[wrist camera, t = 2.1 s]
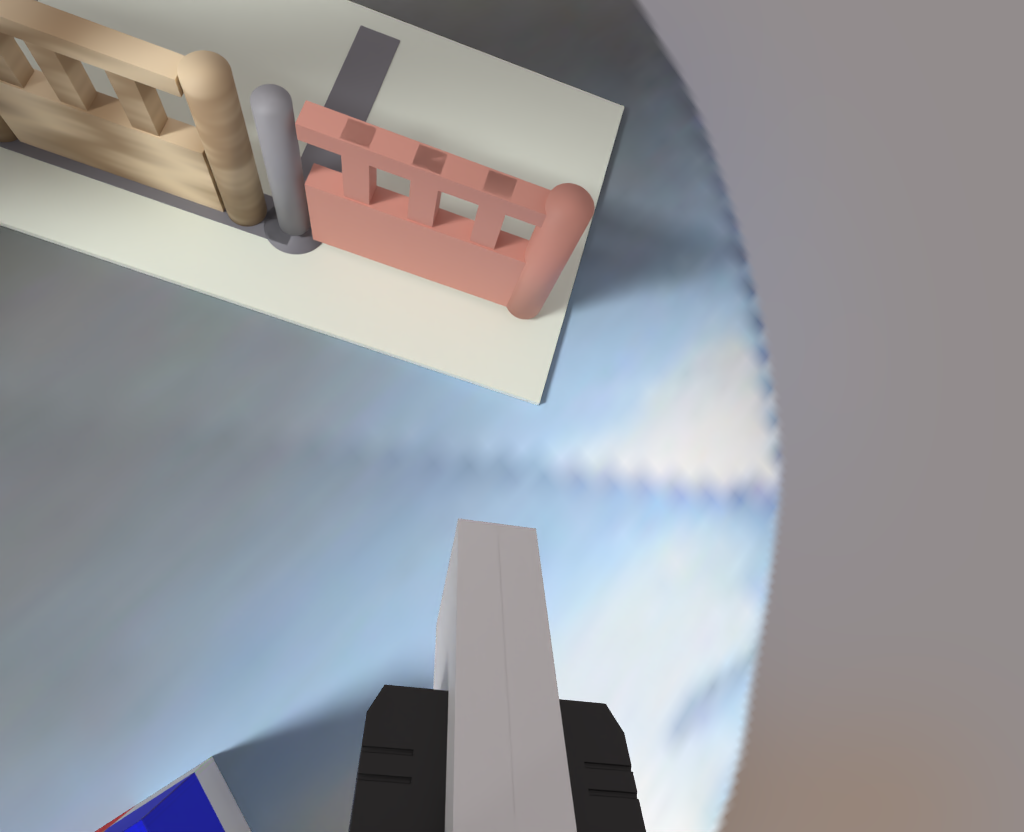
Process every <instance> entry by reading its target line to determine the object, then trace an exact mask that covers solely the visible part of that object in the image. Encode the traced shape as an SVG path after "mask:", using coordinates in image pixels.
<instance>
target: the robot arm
mask: <svg viewBox="0 0 1024 832" xmlns="http://www.w3.org/2000/svg"><path fill="white" fill-rule="evenodd" d="M349 832H646V830H645V825H644V821H643V816H642V812H641V807H640V803H639V799H637V789H636V785H635V780H634V776H633V772H631V762H630V757H629V753H628V748H627V744H626V739H625V735H624V732H623V731H622V729H621V727H620V726H619V724H618V723H617V721H616V719H615V718H614V716H613V715H612V713H611V712H610V710H609V708H608V707H607V705H606V704H603V703H592V702H582V701H571V700H561V699H559V696H558V689H557V681H556V674H555V667H554V659H553V652H552V645H551V637H550V630H549V622H548V615H547V608H546V600H545V593H544V586H543V578H542V571H541V564H540V556H539V549H538V542H537V534H536V529H535V528H527V527H519V526H512V525H504V524H496V523H488V522H481V521H473V520H465V519H458V523H457V527H456V532H455V537H454V542H453V547H452V552H451V556H450V561H449V566H448V571H447V576H446V581H445V585H444V590H443V595H442V600H441V605H440V610H439V614H438V619H437V625H436V645H435V665H434V685H433V689H425V688H414V687H404V686H393V685H384V686H383V688H382V690H381V691H380V693H379V694H378V696H377V697H376V699H375V700H374V702H373V703H372V705H371V706H370V708H369V710H368V711H367V715H366V721H365V727H364V734H363V740H362V746H361V753H360V759H359V765H358V772H357V778H356V785H355V792H354V799H353V806H352V813H351V819H350V826H349Z"/></svg>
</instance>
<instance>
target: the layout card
mask: <svg viewBox="0 0 1024 832" xmlns="http://www.w3.org/2000/svg"><path fill="white" fill-rule="evenodd" d="M38 2H40V3H43V4H46V5H49V6H51V7H54V8H57V9H59V10H62V11H65V12H68V13H70V14H73V15H76V16H78V17H81V18H84V19H87V20H89V21H92V22H95V23H98V24H100V25H103V26H106V27H108V28H111V29H114V30H117V31H119V32H122V33H125V34H127V35H130V36H133V37H136V38H138V39H141V40H144V41H146V42H149V43H152V44H155V45H157V46H160V47H163V48H165V49H168V50H171V51H174V52H176V53H179V54H182V55H185V56H186V55H187V54H189V53H191V52H194V51H200V50H206V51H212V52H215V53H217V54H219V55H221V56H222V57H224V58H225V59H226V60H227V61H228V63H229V64H230V67H231V70H232V74H233V78H234V82H235V85H236V89H237V93H238V97H239V101H240V105H241V109H242V113H243V116H244V120H245V124H246V128H247V132H248V136H249V140H250V144H251V147H252V151H253V155H254V159H255V163H256V167H257V171H258V175H259V179H260V182H261V186H262V190H263V194H264V198H265V202H266V206H267V214H266V216H265V218H264V219H263V221H262V222H260V223H259V224H257V225H254V226H249V227H246V226H240V225H238V224H236V223H234V222H233V221H232V220H231V219H230V218H229V216H228V214H227V211H226V208H225V210H224V212H221V211H218V210H216V209H213V208H210V207H207V206H204V205H201V204H198V203H195V202H193V201H190V200H187V199H184V198H181V197H178V196H175V195H172V194H170V193H167V192H164V191H161V190H158V189H155V188H152V187H149V186H147V185H144V184H141V183H138V182H135V181H132V180H129V179H126V178H124V177H121V176H118V175H115V174H112V173H109V172H106V171H103V170H101V169H98V168H95V167H92V166H89V165H86V164H83V163H80V162H78V161H75V160H72V159H69V158H66V157H63V156H60V155H57V154H55V153H52V152H49V151H46V150H43V149H40V148H37V147H34V146H32V145H29V144H26V143H23V142H20V141H19V139H17V140H15V141H11V142H0V225H1V226H4V227H7V228H10V229H13V230H16V231H19V232H22V233H25V234H28V235H31V236H34V237H37V238H40V239H43V240H46V241H49V242H52V243H55V244H58V245H61V246H64V247H67V248H70V249H73V250H76V251H79V252H82V253H85V254H88V255H91V256H94V257H97V258H100V259H103V260H106V261H109V262H112V263H115V264H118V265H121V266H124V267H127V268H130V269H133V270H136V271H138V272H141V273H144V274H147V275H150V276H153V277H156V278H159V279H162V280H165V281H168V282H171V283H174V284H177V285H180V286H183V287H186V288H189V289H192V290H195V291H198V292H201V293H204V294H207V295H210V296H213V297H216V298H219V299H222V300H225V301H228V302H231V303H234V304H237V305H240V306H243V307H246V308H249V309H252V310H255V311H258V312H261V313H264V314H267V315H270V316H273V317H276V318H279V319H282V320H285V321H288V322H291V323H294V324H297V325H299V326H302V327H305V328H308V329H311V330H314V331H317V332H320V333H323V334H326V335H329V336H332V337H335V338H338V339H341V340H344V341H347V342H350V343H353V344H356V345H359V346H362V347H365V348H368V349H371V350H374V351H377V352H380V353H383V354H386V355H389V356H392V357H395V358H398V359H401V360H404V361H407V362H410V363H413V364H416V365H419V366H422V367H425V368H428V369H431V370H434V371H437V372H440V373H443V374H446V375H449V376H452V377H455V378H458V379H460V380H463V381H466V382H469V383H472V384H475V385H478V386H481V387H484V388H487V389H490V390H493V391H496V392H499V393H502V394H505V395H508V396H511V397H514V398H517V399H520V400H523V401H526V402H529V403H532V404H535V405H539V403H540V400H541V396H542V393H543V389H544V386H545V382H546V379H547V375H548V372H549V368H550V365H551V361H552V358H553V354H554V351H555V347H556V344H557V340H558V337H559V333H560V330H561V326H562V323H563V319H564V316H565V312H566V309H567V305H568V302H569V298H570V295H571V291H572V288H573V284H574V281H575V277H576V274H577V270H578V267H579V263H580V260H581V256H582V253H583V249H584V246H585V242H586V239H587V236H588V232H589V229H590V225H591V222H592V218H593V216H592V218H591V220H590V222H589V224H588V225H587V227H586V229H585V231H584V233H583V234H582V236H581V238H580V240H579V242H578V243H577V245H576V247H575V249H574V251H573V252H572V254H571V256H570V258H569V260H568V261H567V263H566V265H565V267H564V269H563V270H562V272H561V274H560V276H559V278H558V279H557V281H556V283H555V285H554V287H553V288H552V290H551V292H550V294H549V296H548V297H547V299H546V301H545V303H544V305H543V306H542V308H541V310H540V312H539V313H538V314H537V315H536V316H535V317H533V318H531V319H519V318H517V317H515V316H513V315H512V314H511V313H510V312H509V311H508V309H507V307H506V306H503V305H500V304H497V303H494V302H491V301H488V300H486V299H483V298H480V297H477V296H474V295H471V294H468V293H465V292H463V291H460V290H457V289H454V288H451V287H448V286H445V285H442V284H440V283H437V282H434V281H431V280H428V279H425V278H422V277H419V276H417V275H414V274H411V273H408V272H405V271H402V270H399V269H397V268H394V267H391V266H388V265H385V264H382V263H379V262H376V261H374V260H371V259H368V258H365V257H362V256H359V255H356V254H353V253H351V252H348V251H345V250H342V249H339V248H336V247H333V246H330V245H328V244H325V243H322V242H319V241H316V240H313V236H312V229H311V225H310V228H309V229H308V231H307V232H305V233H304V234H302V235H299V236H292V235H288V234H286V233H285V232H283V231H282V229H281V228H280V226H279V222H278V218H277V214H276V210H275V206H274V201H273V197H272V193H271V189H270V185H269V180H268V176H267V172H266V168H265V164H264V159H263V155H262V151H261V147H260V143H259V138H258V134H257V130H256V126H255V122H254V117H253V113H252V109H251V105H250V96H251V93H252V92H253V91H254V89H256V88H257V87H259V86H261V85H264V84H275V85H278V86H281V87H283V88H284V89H285V90H287V91H288V93H289V94H290V96H291V99H292V104H293V111H294V117H295V123H296V120H297V118H298V116H299V114H300V112H301V110H302V107H303V105H304V103H305V101H306V100H307V101H310V102H312V103H315V104H318V105H320V106H323V107H326V108H329V109H331V110H334V111H337V112H339V113H342V114H345V115H348V116H350V117H353V118H356V119H359V120H361V121H364V122H367V123H369V124H372V125H375V126H378V127H380V128H383V129H386V130H388V131H391V132H394V133H397V134H399V135H402V136H405V137H407V138H410V139H413V140H416V141H418V142H421V143H424V144H427V145H429V146H432V147H435V148H437V149H440V150H443V151H446V152H448V153H451V154H454V155H456V156H459V157H462V158H465V159H467V160H470V161H473V162H475V163H478V164H481V165H484V166H486V167H489V168H492V169H494V170H497V171H500V172H503V173H505V174H508V175H511V176H514V177H516V178H519V179H522V180H524V181H527V182H530V183H533V184H535V185H538V186H541V187H543V188H546V189H549V190H552V189H553V188H554V187H556V186H557V185H560V184H563V183H572V184H576V185H579V186H581V187H583V188H584V189H585V190H586V191H587V192H588V193H589V194H590V195H591V197H592V199H593V201H594V206H595V208H596V204H597V201H598V197H599V194H600V190H601V187H602V183H603V180H604V176H605V173H606V169H607V166H608V162H609V159H610V155H611V152H612V148H613V145H614V141H615V138H616V134H617V131H618V127H619V124H620V120H621V117H622V113H623V110H624V106H622V105H619V104H617V103H614V102H611V101H609V100H606V99H604V98H601V97H598V96H596V95H593V94H591V93H588V92H585V91H583V90H580V89H578V88H575V87H572V86H570V85H567V84H565V83H562V82H559V81H557V80H554V79H552V78H549V77H546V76H544V75H541V74H539V73H536V72H533V71H531V70H528V69H525V68H523V67H520V66H518V65H515V64H512V63H510V62H507V61H505V60H502V59H499V58H497V57H494V56H492V55H489V54H486V53H484V52H481V51H479V50H476V49H473V48H471V47H468V46H466V45H463V44H460V43H458V42H455V41H453V40H450V39H447V38H445V37H442V36H440V35H437V34H434V33H432V32H429V31H427V30H424V29H421V28H419V27H416V26H414V25H411V24H408V23H406V22H403V21H401V20H398V19H395V18H393V17H390V16H388V15H385V14H382V13H380V12H377V11H375V10H372V9H369V8H367V7H364V6H362V5H359V4H356V3H354V2H351V1H349V0H38ZM14 39H15V40H16V42H17V44H18V45H19V47H20V48H21V50H22V52H23V53H24V55H25V56H26V58H27V60H28V61H29V63H30V65H31V66H32V68H33V69H36V70H39V71H41V72H42V70H41V69H40V67H39V66H38V64H37V62H36V61H35V59H34V57H33V56H32V54H31V52H30V51H29V49H28V47H27V46H26V44H25V42H24V41H23V40H21V39H18V38H15V37H14ZM81 63H82V65H83V67H84V69H85V71H86V73H87V74H88V76H89V78H90V80H91V82H92V84H93V86H94V88H95V90H96V91H97V92H100V93H103V94H106V95H108V96H111V97H114V98H117V99H118V97H117V95H116V93H115V91H114V89H113V87H112V85H111V83H110V81H109V79H108V77H107V74H106V72H105V70H104V69H101V68H98V67H95V66H93V65H90V64H87V63H84V62H82V61H81ZM156 90H157V93H158V95H159V98H160V100H161V102H162V105H163V107H164V110H165V112H166V115H167V117H170V118H173V119H175V120H178V121H181V122H184V123H187V124H189V125H192V126H195V127H196V125H195V122H194V120H193V117H192V114H191V111H190V109H189V106H188V103H187V100H186V98H185V95H184V93H183V95H182V97H178V96H176V95H173V94H170V93H167V92H164V91H162V90H159V89H156ZM298 143H299V149H300V156H301V162H302V169H303V175H304V182H306V180H307V177H308V175H309V173H310V171H311V168H312V166H313V164H314V163H315V164H318V165H321V166H324V167H327V168H329V169H332V170H335V171H338V172H340V173H342V162H341V155H339V154H336V153H333V152H330V151H328V150H325V149H322V148H319V147H317V146H314V145H311V144H308V143H305V142H303V141H300V140H298ZM377 186H379V187H382V188H385V189H388V190H391V191H393V192H396V193H399V194H402V195H405V196H407V197H409V192H410V180H408V179H405V178H402V177H399V176H397V175H394V174H391V173H388V172H386V171H383V170H380V169H377ZM478 206H479V205H477V204H474V203H471V202H469V201H466V200H463V199H460V198H457V197H455V196H452V195H449V194H446V193H444V192H442V193H441V199H440V205H439V208H441V209H443V210H446V211H449V212H452V213H455V214H457V215H460V216H463V217H466V218H469V219H471V220H474V221H475V217H476V213H477V209H478ZM594 211H595V210H594ZM593 215H594V214H593ZM534 228H535V225H532V224H529V223H527V222H524V221H521V220H518V219H516V218H513V217H510V216H507V215H505V218H504V221H503V224H502V227H501V230H502V231H505V232H508V233H510V234H513V235H516V236H519V237H521V238H524V239H527V240H530V238H531V235H532V233H533V231H534Z"/></svg>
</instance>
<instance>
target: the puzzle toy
mask: <svg viewBox="0 0 1024 832" xmlns="http://www.w3.org/2000/svg"><path fill="white" fill-rule="evenodd" d="M95 832H251V830H250V828H249V826H248V824H247V822H246V820H245V818H244V816H243V814H242V813H241V811H240V809H239V807H238V805H237V803H236V801H235V799H234V797H233V795H232V793H231V791H230V790H229V788H228V786H227V784H226V782H225V780H224V778H223V776H222V774H221V772H220V770H219V768H218V767H217V765H216V763H215V761H214V759H213V757H210V758H208V759H207V760H205V761H204V762H202V763H201V764H199V765H198V766H196V767H195V768H193V769H191V770H190V771H188V772H187V773H185V774H184V775H182V776H181V777H179V778H177V779H176V780H174V781H173V782H171V783H170V784H168V785H167V786H165V787H163V788H162V789H160V790H159V791H157V792H156V793H154V794H153V795H151V796H149V797H148V798H146V799H145V800H143V801H142V802H140V803H139V804H137V805H136V806H134V807H132V808H131V809H129V810H128V811H126V812H125V813H123V814H122V815H120V816H118V817H117V818H115V819H114V820H112V821H111V822H109V823H108V824H106V825H104V826H103V827H101V828H100V829H98V830H97V831H95Z"/></svg>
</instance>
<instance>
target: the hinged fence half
mask: <svg viewBox="0 0 1024 832" xmlns="http://www.w3.org/2000/svg"><path fill="white" fill-rule="evenodd" d="M250 105H251V109H252V113H253V117H254V122H255V126H256V130H257V134H258V138H259V143H260V147H261V151H262V155H263V159H264V164H265V168H266V172H267V176H268V180H269V185H270V189H271V193H272V197H273V201H274V206H275V210H276V214H277V218H278V222H279V226H280V228H281V229H282V231H283V232H285V233H286V234H288V235H292V236H299V235H302V234H304V233H305V232H307V231H308V229H309V228H310V225H311V229H312V236H313V240H316V241H319V242H322V243H325V244H328V245H330V246H333V247H336V248H339V249H342V250H345V251H348V252H351V253H353V254H356V255H359V256H362V257H365V258H368V259H371V260H374V261H376V262H379V263H382V264H385V265H388V266H391V267H394V268H397V269H399V270H402V271H405V272H408V273H411V274H414V275H417V276H419V277H422V278H425V279H428V280H431V281H434V282H437V283H440V284H442V285H445V286H448V287H451V288H454V289H457V290H460V291H463V292H465V293H468V294H471V295H474V296H477V297H480V298H483V299H486V300H488V301H491V302H494V303H497V304H500V305H503V306H506V307H507V309H508V311H509V312H510V313H511V314H512V315H513V316H515V317H517V318H519V319H531V318H533V317H535V316H536V315H537V314H538V313H539V312H540V310H541V308H542V306H543V305H544V303H545V301H546V299H547V297H548V296H549V294H550V292H551V290H552V288H553V287H554V285H555V283H556V281H557V279H558V278H559V276H560V274H561V272H562V270H563V269H564V267H565V265H566V263H567V261H568V260H569V258H570V256H571V254H572V252H573V251H574V249H575V247H576V245H577V243H578V242H579V240H580V238H581V236H582V234H583V233H584V231H585V229H586V227H587V225H588V224H589V222H590V220H591V218H592V216H593V214H594V210H595V206H594V201H593V199H592V197H591V195H590V194H589V193H588V192H587V191H586V190H585V189H584V188H583V187H581V186H579V185H576V184H572V183H563V184H560V185H557V186H556V187H554V188H553V189H552V190H549V189H546V188H543V187H541V186H538V185H535V184H533V183H530V182H527V181H524V180H522V179H519V178H516V177H514V176H511V175H508V174H505V173H503V172H500V171H497V170H494V169H492V168H489V167H486V166H484V165H481V164H478V163H475V162H473V161H470V160H467V159H465V158H462V157H459V156H456V155H454V154H451V153H448V152H446V151H443V150H440V149H437V148H435V147H432V146H429V145H427V144H424V143H421V142H418V141H416V140H413V139H410V138H407V137H405V136H402V135H399V134H397V133H394V132H391V131H388V130H386V129H383V128H380V127H378V126H375V125H372V124H369V123H367V122H364V121H361V120H359V119H356V118H353V117H350V116H348V115H345V114H342V113H339V112H337V111H334V110H331V109H329V108H326V107H323V106H320V105H318V104H315V103H312V102H310V101H307V100H306V101H305V103H304V105H303V107H302V110H301V112H300V114H299V116H298V118H297V120H296V123H295V117H294V111H293V104H292V99H291V96H290V94H289V93H288V91H287V90H285V89H284V88H283V87H281V86H278V85H275V84H264V85H261V86H259V87H257V88H256V89H254V91H253V92H252V93H251V96H250ZM298 140H300V141H303V142H305V143H308V144H311V145H314V146H317V147H319V148H322V149H325V150H328V151H330V152H333V153H336V154H339V155H341V162H342V173H340V172H338V171H335V170H332V169H329V168H327V167H324V166H321V165H318V164H315V163H314V164H313V166H312V168H311V171H310V173H309V175H308V177H307V180H306V182H304V175H303V169H302V162H301V156H300V149H299V143H298ZM377 169H380V170H383V171H386V172H388V173H391V174H394V175H397V176H399V177H402V178H405V179H408V180H410V192H409V197H407V196H405V195H402V194H399V193H396V192H393V191H391V190H388V189H385V188H382V187H379V186H377ZM442 192H444V193H446V194H449V195H452V196H455V197H457V198H460V199H463V200H466V201H469V202H471V203H474V204H477V205H479V206H478V209H477V213H476V217H475V221H474V220H471V219H469V218H466V217H463V216H460V215H457V214H455V213H452V212H449V211H446V210H443V209H441V208H439V205H440V199H441V193H442ZM505 215H507V216H510V217H513V218H516V219H518V220H521V221H524V222H527V223H529V224H532V225H535V228H534V231H533V233H532V235H531V238H530V240H527V239H524V238H521V237H519V236H516V235H513V234H510V233H508V232H505V231H502V230H501V227H502V224H503V221H504V218H505Z"/></svg>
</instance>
